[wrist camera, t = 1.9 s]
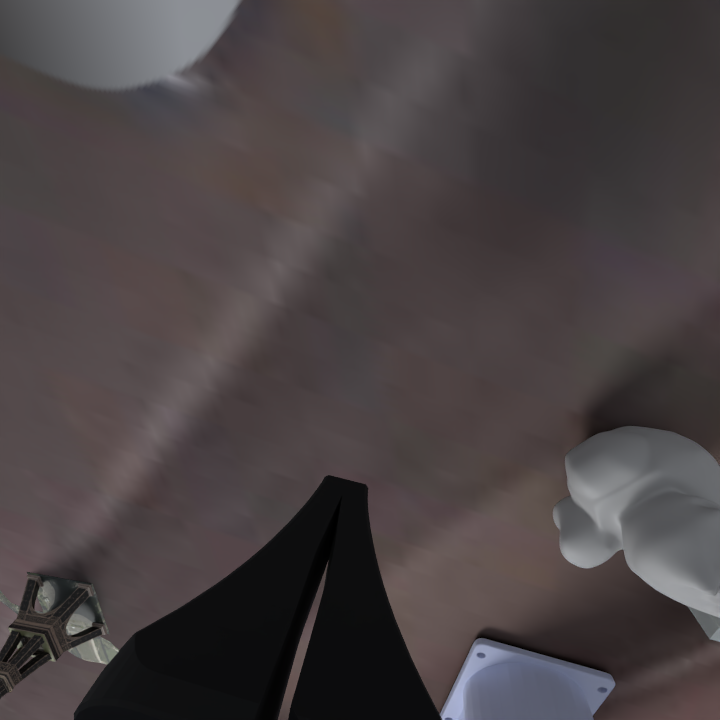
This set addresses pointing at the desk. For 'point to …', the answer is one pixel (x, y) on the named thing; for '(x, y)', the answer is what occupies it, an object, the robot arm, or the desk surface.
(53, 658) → the eiffel tower figurine
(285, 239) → the desk surface
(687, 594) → the rubber duck
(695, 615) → the bay
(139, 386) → the desk surface
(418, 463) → the desk surface
